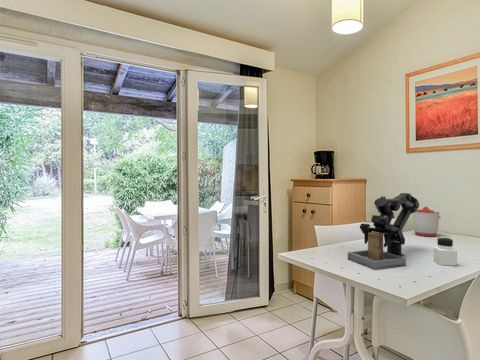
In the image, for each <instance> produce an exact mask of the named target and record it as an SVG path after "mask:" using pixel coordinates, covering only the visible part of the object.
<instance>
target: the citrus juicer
mask: <svg viewBox="0 0 480 360" xmlns="http://www.w3.org/2000/svg"><path fill="white" fill-rule="evenodd" d="M412 215H413V216H412V221H413V222H412V224H413V225H412V226H413V230H414V232H415V233H414V234H415V235H417V236H421V237H436V235H438V230H439V225H440V222H439V220H440V219H442V217H441V216H440V211H437V212H436V211H435V210H431V209H430V208H429V207H428V206H424V207H423V208H422V209H417V210H416V212H414V213H412Z"/></svg>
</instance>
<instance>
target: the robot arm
mask: <svg viewBox="0 0 480 360" xmlns="http://www.w3.org/2000/svg"><path fill="white" fill-rule="evenodd" d="M374 205H375V208H376V210H377V212H378V213H379V215H376V214H375V215H374V214H373V215H372V216H371V220H370V222H372V223H373V225H372V226H373V227H372V226H371V225H370V223H364V222H363V223H361V224H360V225H359V229H360V230H361V233H362V234H363V235H364V237H363V238H364V244H366V245H367V244H368V233H371V232H377V233H383V241H384V242H383V248H386V247H387V249H386V250H387V251H386V252H387V253H390V254H394V255H397V256H400V257H402V256H405V254H404V253H402V245H405V243H406V238H405V236H404V233H403V229H404V227H405V225H406V223H407V222H408V219H409V217H410V216H411V214H412V215H413V213H414V212H416V210H419V208H420V202H419V200H418V199H417V198H416V197H414V196H412V194H411V193H408V192H401V193H399V194H398V195H397V196H395V197H393V198H386V196H383V195H382V196H380V197H379V198H376V200H374ZM400 209H401V210H400ZM399 210H400V212H399V213H398V216H396V219H395V213H394V212H398V211H399ZM393 219H395V220H394V222H393V224H392V220H393Z"/></svg>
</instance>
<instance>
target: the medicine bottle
mask: <svg viewBox="0 0 480 360" xmlns="http://www.w3.org/2000/svg"><path fill="white" fill-rule="evenodd" d="M453 244H454V240H453V239H452V238H449V237H438V238H437V246H433V262H435V263H436V264H438V265H440V266H452V267H453V266H455V267H456V266H457V263H458V262H457V260H458V259H457V255H458V254H457V253H458V252H457V250H456V249H455V248H454V247H453V246H454V245H453Z"/></svg>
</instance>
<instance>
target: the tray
mask: <svg viewBox="0 0 480 360" xmlns="http://www.w3.org/2000/svg"><path fill="white" fill-rule="evenodd" d="M406 259H407V258H406V257H403V256H397V255H394V254H390V253H387V251H384V250H383V260H379V261H374V260H371V259H368V249H365V250H363V249H362V250H354V251H353V250H352V251H347V260H348V261H352V262H354V263H356V264H359V265H361V266H363V267H366V268H369V269H372V270H373V271H375V270H383V269H384V270H385V269H392V268H397V267H399V268H400V267H405V266H406V265H407V264H406V262H407V260H406Z"/></svg>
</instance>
